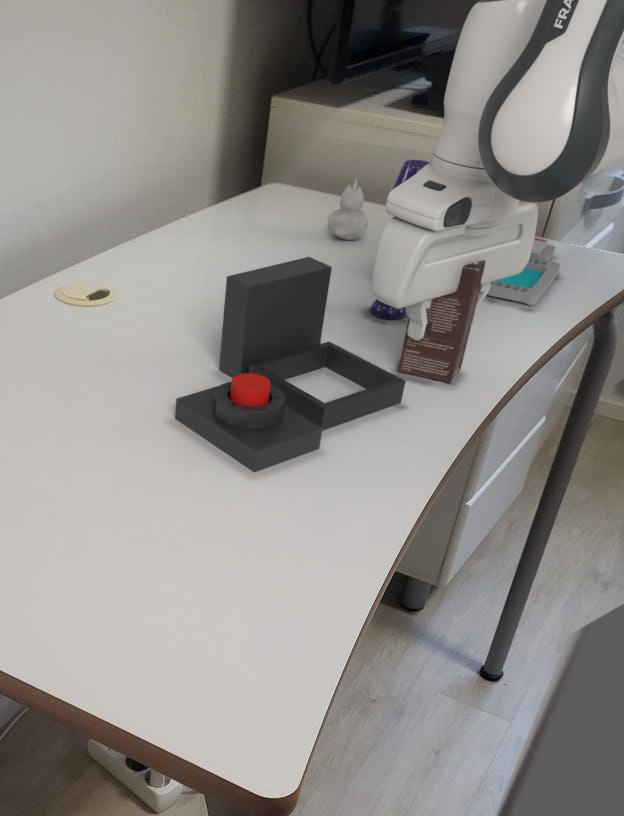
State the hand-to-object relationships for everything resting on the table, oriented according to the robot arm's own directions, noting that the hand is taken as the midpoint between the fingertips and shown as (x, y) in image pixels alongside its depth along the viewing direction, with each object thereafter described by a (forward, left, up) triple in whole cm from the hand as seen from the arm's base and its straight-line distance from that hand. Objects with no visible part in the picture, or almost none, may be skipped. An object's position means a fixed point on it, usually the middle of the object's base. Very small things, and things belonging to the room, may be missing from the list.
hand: (439, 330), depth 101 cm
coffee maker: (+4, +14, -5) cm, 15 cm away
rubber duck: (+36, -22, -5) cm, 43 cm away
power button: (0, +26, -1) cm, 26 cm away
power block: (0, +26, -5) cm, 26 cm away
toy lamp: (+14, -8, -5) cm, 17 cm away
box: (0, 0, -5) cm, 5 cm away
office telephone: (+19, -30, -5) cm, 36 cm away
